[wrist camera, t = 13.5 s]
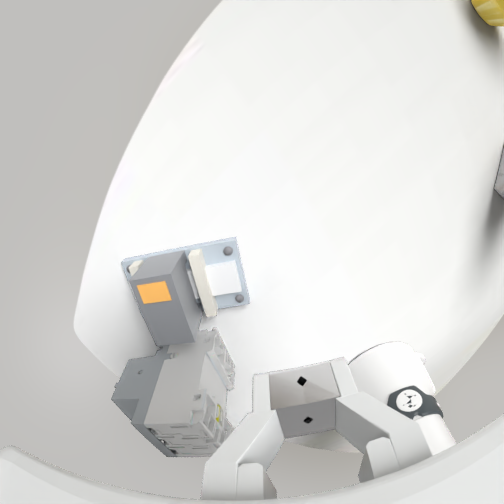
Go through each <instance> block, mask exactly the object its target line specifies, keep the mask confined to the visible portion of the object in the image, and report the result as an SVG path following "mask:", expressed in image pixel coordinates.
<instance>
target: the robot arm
mask: <svg viewBox="0 0 504 504" xmlns="http://www.w3.org/2000/svg"><path fill="white" fill-rule="evenodd" d="M425 362H426V359H425V357H424V355H422V354H419V353H416V352H415V351H414V350H413V349H412V347H411V346H409V345H408V344H406V343H403V342H390V343H385V344H381V345H379V346H376V347H374V348H372V349H370V350H368V351H366V352H364V353H363V354H361V355H360V356H358V357H357V358H356V359H354V360H353V361H352V362H351V363H350V364H349V365H348V364H347V361H346V359H345V358H344V357H341V358H337V359H333V360H329V361H325V362H320V363H316V364H311V365H307V366H302V367H298V368H292V369H286V370H279V371H272V372H267V373H259V374H254V376H253V399H252V413H248V414H247V415H246V416H245V417H244V418H243V420H242V421H241V422H240V423H239V425H238V426H237V427H236V428H235V430H234V431H233V432H232V433H231V434H230V435H229V437H228V438H227V439H226V440H225V441H224V442H223V444H222V445H221V446H220V447H219V448H218V449H217V451H216V452H215V453H214V454H213V455H212V456H211V457H210V458H209V460H208V461H207V462H206V463H205V468H204V476H203V483H202V490H201V498H200V500H196V499H185V498H176V497H168V496H161V495H155V494H149V493H144V492H139V491H134V490H129V489H125V488H121V487H117V486H113V485H109V484H106V483H102V482H99V481H95V480H93V479H89V478H86V477H83V476H81V475H77V474H74V473H72V472H70V471H67V470H64V469H62V468H60V467H57V466H55V465H52V464H50V463H48V462H46V461H43V460H41V459H39V458H37V457H35V456H33V455H31V454H29V453H27V452H25V451H23V450H21V449H19V448H17V447H15V446H7V447H5V448H3V449H0V504H504V414H503V415H501V416H500V417H498V418H497V419H496V420H494V421H493V422H491V423H490V424H488V425H487V426H485V427H484V428H482V429H481V430H479V431H478V432H476V433H474V434H473V435H471V436H469V437H468V438H466V439H464V440H462V441H461V442H459V443H456V441H455V440H454V438H453V436H452V435H451V433H450V431H449V430H448V428H447V426H446V424H445V423H444V421H443V413H442V411H441V407H440V405H439V404H438V402H437V401H436V400H435V398H434V397H433V396H434V393H435V387H434V385H433V383H432V381H431V379H430V377H429V375H428V373H427V371H426V369H425V367H424V364H425ZM333 429H336V431H337V432H338V433H340V434H341V435H342V436H343V437H344V438H345V439H346V440H348V441H349V442H350V443H351V444H352V445H353V446H355V447H356V448H357V449H358V450H359V451H360V452H362V453H363V454H364V456H363V460H362V463H361V467H360V471H359V474H358V476H359V481H360V483H359V484H355V485H352V486H348V487H344V488H339V489H336V490H330V491H325V492H321V493H315V494H309V495H303V496H296V497H288V498H280V499H277V496H276V489H275V487H274V486H273V484H272V482H271V480H270V479H269V477H268V475H267V473H266V471H267V469H268V467H269V466H270V464H271V463H272V461H273V459H274V457H275V456H276V454H277V453H278V451H279V449H280V447H281V446H282V444H283V442H284V440H285V439H286V438H291V437H297V436H302V435H307V434H312V433H318V432H323V431H328V430H333Z"/></svg>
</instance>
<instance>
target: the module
mask: <svg viewBox="0 0 504 504" xmlns="http://www.w3.org/2000/svg"><path fill="white" fill-rule="evenodd" d="M186 262H187V257H186V254H185V250H182V251H177V252H172V253H167V254H162V255H157V256H152V257H148V258H147V259H146V260H145V262H144V263H143V264H142V265H141V266H140V268H139V269H138V270H137V271H136V272H135V274H134V275H133V276H132V277H131V279H130V280H129V283H130V286H131V288H132V291H133V293H134V296H135V298H136V301H137V303H138V305H139V308H140V310H141V313H142V315H143V317H144V320H145V322H146V324H147V326H148V329H149V331H150V333H151V335H152V337H153V339H154V342H155V344H156V346H161V345H174V344H185V343H195V341H196V337H197V333H198V329H199V325H200V321H201V317H202V313H203V310H202V306H201V303H197V301H196V298H195V295H194V292H193V289H192V285H191V282H190V279H189V276H188V272H187V269H186V266H185V264H186Z"/></svg>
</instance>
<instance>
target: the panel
mask: <svg viewBox="0 0 504 504" xmlns="http://www.w3.org/2000/svg"><path fill="white" fill-rule="evenodd" d="M182 250H185V254H186V257H187V262H186V264H185V266H186V269H187V272H188V276H189V279H190V282H191V285H192V289H193V292H194V295H195V298H196V301H197V303H201V306H202V310H203V311H205V314H206V317H211V316H217V310H218V309H220V308H227V307H233V306H239V305H246V304H250V298H249V293H248V289H247V285H246V280H245V276H244V271H243V267H242V262H241V258H240V253H239V248H238V244H237V239H236V237H232V238H227V239H221V240H216V241H211V242H206V243H200V244H195V245H190V246H185V247H180V248H175V249H170V250H165V251H160V252H155V253H150V254H145V255H140V256H135V257H131V258H126V259H124V260H123V261H122V262H121V263H122V266H123V269H124V272H125V274H126V277H127V280H128V282H129V280H130V279H131V277H132V276H133V275H134V274H135V272H136V271H137V270H138V269H139V268H140V266H141V265H142V264H143V263H144V262H145V260H146V259H147V258H148V257H152V256H157V255H162V254H167V253H172V252H177V251H182ZM129 285H130V283H129ZM130 287H131V286H130ZM131 290H132V288H131ZM132 292H133V291H132ZM133 295H134V293H133ZM134 297H135V296H134ZM135 300H136V298H135ZM136 302H137V301H136ZM137 305H138V303H137ZM138 307H139V305H138ZM139 309H140V308H139ZM140 312H141V310H140ZM141 314H142V313H141ZM142 316H143V315H142ZM143 318H144V317H143Z"/></svg>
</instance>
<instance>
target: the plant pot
mask: <svg viewBox="0 0 504 504" xmlns="http://www.w3.org/2000/svg"><path fill="white" fill-rule="evenodd" d="M471 2H472V4H473V6H474V8H475V10H476V11H477V13H478V14H479V16H480V17H481V18H482V19H483V20H484V21H485V22H486V23H487V24H489V25H491V26H504V0H471Z"/></svg>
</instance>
